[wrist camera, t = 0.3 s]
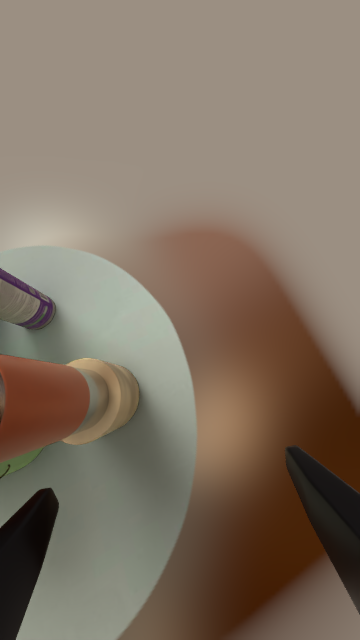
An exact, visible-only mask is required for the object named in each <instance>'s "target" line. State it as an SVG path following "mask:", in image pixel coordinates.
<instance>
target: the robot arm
mask: <svg viewBox="0 0 360 640" xmlns="http://www.w3.org/2000/svg"><path fill="white" fill-rule="evenodd" d="M285 456H286V465H287V469H288V472H289V474H290V476H291V479H292V481H293V483H294V486H295V488H296V490H297V492H298V495H299V497H300V499H301V502H302V504H303V506H304V509H305V511H306V513H307V516H308V518H309V520H310V522H311V524H312V526H313V528H314V530H315V531H316V534H317V536H318V537H319V539H320V541H321V543H322V544H323V547H324V549H325V551H326V552H327V554H328V556H329V558H330V560H331V562H332V563H333V565H334V567H335V569H336V571H337V573H338V575H339V577H340V579H341V581H342V582H343V584H344V586H345V588H346V590H347V592H348V594H349V595H350V597H351V599H352V601H353V603H354V605H355V607H356V609H357V610H358V612H359V614H360V493H358V492H357V491H356V490H354V489H353V488H352V487H351V486H349V485H348V484H347V483H345V482H344V481H343V480H341V479H340V478H339V477H338V476H336V475H335V474H334V473H332V472H331V471H330V470H328V469H327V468H326V467H324V466H323V465H322V464H321V463H319V462H318V461H317V460H315V459H314V458H313V457H311V456H310V455H309V454H307V453H306V452H305V451H304V450H302V449H301V448H300V447H298V446H296V445H294V446H288V447H286V448H285ZM58 509H59V502H58V500H57V498H56V496H55V494H54V492H53V490H52V489H51V488H45V489H41V490H39V491H37V492H36V493H35V494H34V495H33V496H32V497H31V498H30V499H29V500H28V501H27V502H26V503H25V504H24V505H23V506H22V507H21V508H20V509H19V510H18V511H17V512H16V513H15V514H14V515H13V516H12V517H11V518H10V519H9V520H8V521H7V522H6V523H5V524H4V525H3V526H2V527H1V528H0V640H16V637H17V634H18V632H19V629H20V626H21V623H22V621H23V618H24V615H25V612H26V610H27V607H28V604H29V601H30V599H31V596H32V593H33V590H34V587H35V585H36V582H37V579H38V576H39V574H40V571H41V568H42V565H43V562H44V558H45V555H46V552H47V548H48V545H49V541H50V538H51V534H52V531H53V527H54V524H55V520H56V517H57V513H58Z"/></svg>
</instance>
